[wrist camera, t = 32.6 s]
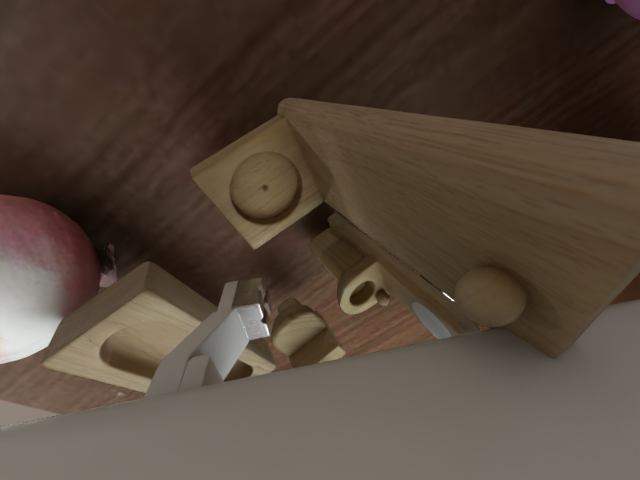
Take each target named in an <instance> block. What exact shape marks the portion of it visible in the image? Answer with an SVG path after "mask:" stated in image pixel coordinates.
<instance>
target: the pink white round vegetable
mask: <svg viewBox="0 0 640 480" xmlns="http://www.w3.org/2000/svg"><path fill="white" fill-rule="evenodd" d="M108 244H109V246H108V247H107V249H105V248H104V247H102V248H103V249H104V250H105V251H106V253H107V255H108V257H109V258H110V259H111V260H112V264H113V268H114V270H112V269H108V267H106V266H105V265H104V267H102V268H101V269H100V261H99V258H98V255H97V252H96V249H95V247H94V246H93V244H92V242H91V240H90V239H89V237H88V235H87V234H86V233H85V232H84V231H83V230H82V228H81V227H80V226H79V225H78V224H77V223H76V222H74V221H73V220H71V219H70V218H69V217H68V216H67V215H66V214H65V213H62V212H61V211H59V210H57V209H56V208H54V207H52V206H50V205H47V204H45V203H43V202H40V201H37V200H35V199H30V198H24V197H18V196H13V195H12V196H9V195H0V364H1V363H6V362H11V361H15V360H19V359H22V358H25V357H27V356H30V355H32V354H34V353H36V352H38V351H40V350H42V349H44V348H46V347H47V346H48V345H49V343H50V341H51V339H52V337H53V335H54V333H55V331H56V329H57V327H58V325H59V323H60V322H61V320H62V319H63V318H64V317H66V316H67V315H68V314H70V313H71V312H73V311H74V310H76V309H77V308H79V307H80V306H82V305H83V304H84V303H86V302H87V301H89V300H90V299H92V298H93V297H95V296H96V295H97V294H98V291H99V286H102V287H106V288H108V287H109V286H111V285H112V284H113V283H115V282H116V281H117V268H116V265H115V263H116V261H115V259H114V246H113V245H111V244H110V243H108ZM108 244H107V245H108Z"/></svg>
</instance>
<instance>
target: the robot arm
mask: <svg viewBox="0 0 640 480" xmlns="http://www.w3.org/2000/svg"><path fill="white" fill-rule="evenodd" d="M420 276H421V277H422V278H423V279H425V278H424V277H423V276H422V275H420ZM425 280H426V281H427V282H429V281H428V280H427V279H425ZM429 283H430V284H431V285H433V284H432V283H431V282H429ZM433 286H434V287H435V288H437V287H436V286H435V285H433ZM437 289H438V288H437ZM438 290H439V291H441V290H440V289H438ZM441 292H442V291H441ZM442 293H443V294H444V295H446V294H445V293H444V292H442ZM446 296H447V297H448V298H450V297H449V296H448V295H446ZM450 299H451V298H450ZM451 300H452V301H454V300H453V299H451ZM270 314H271V300H270V296H269V292H268V291H266V282H265V279H264V277H257V278H251V279H244V280H239V281H232V282H227V283H226V284H225V286H224V289H223V292H222V296H221V299H220V302H219V305H218V309H217V312H213V313H212V314H211V315H210V316H209V317H207V318H206V319H205V320H204V321H203V322H202V323H201V324H200V325H199V326H198V327H197V328H196V329H195V330H194V331H193V332H192V333H190V334H189V335H188V336H187V337H186V338H185V339H184V340H183V341H182V342H181V343H180V344H179V345H178V346H177V347H176V348H175V349H173V350H172V351H171V352H170V353H169V354H168V355H167V356H166V357H165V358H164V359H163V360H162V361H161V362H160V364H159V366H158V368H157V370H156V372H155V374H154V376H153V379H152V381H151V383H150V385H149V387H148V389H147V392H146V394H145V396H144V398H142V399H137V400H132V401H127V402H122V403H117V404H112V405H107V406H102V407H97V408H92V409H87V410H82V411H77V412H72V413H67V414H62V415H57V416H52V417H47V418H42V419H38V420H32V421H28V422H22V423H17V424H12V425H7V426H1V427H0V480H640V299H637V300H632V301H627V302H622V303H617V304H612V305H608V306H607V307H606V308H605V309H604V311H603V312H602V313H601V314H600V315H599V316H598V317H597V318H596V319H595V320H594V321H593V323H592V324H591V325H590V326H589V327H588V328H587V329H586V330H585V331H584V332H583V334H582V335H581V336H580V337H579V338H578V339H577V340H576V341H575V342H574V343H573V344H572V345H571V346H570V347H568V348H567V349H566V350H565V351H564V352H563V353H562V354H561V355H560V356H558V357H557V358H556V359H552V358H550V357H549V356H548V355H546V354H545V353H543V352H542V351H540V350H539V349H537V348H536V347H535V346H533V345H531V344H530V343H528V342H526V341H525V340H523V339H521V338H520V337H518V336H516V335H515V334H513V333H511V332H510V331H508V330H506V329H504V328H501V327H497V328H492V329H487V330H482V331H477V332H472V333H467V334H462V335H457V336H452V337H447V338H442V339H437V340H432V341H427V342H422V343H417V344H412V345H407V346H402V347H397V348H392V349H387V350H382V351H377V352H372V353H367V354H362V355H357V356H352V357H347V358H342V359H337V360H332V361H327V362H322V363H317V364H312V365H307V366H302V367H297V368H292V369H287V370H282V371H277V372H272V373H267V374H262V375H257V376H252V377H247V378H242V379H237V380H232V381H227V382H224V379H225V378H226V376H227V375H228V373H229V372H230V370H231V368H232V367H233V365H234V364H235V362H236V361H237V359H238V358H239V356H240V355H241V353H242V352H243V350H244V349H245V347H246V345H247V344H248V342H249V340H253V339H258V338H262V337H267V336H270V326H271V322H270V318H269V316H270Z"/></svg>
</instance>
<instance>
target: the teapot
mask: <svg viewBox="0 0 640 480" xmlns="http://www.w3.org/2000/svg"><path fill="white" fill-rule="evenodd" d="M605 1H606V2H607V3H609V4H615V3H616V4H617V5H618V6H619V7H620V8H621V9H622V10H624V11H625V12H626V13H627V14H629V15H630V16H632V17H634V18H635V19H638V20H640V0H605Z"/></svg>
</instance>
